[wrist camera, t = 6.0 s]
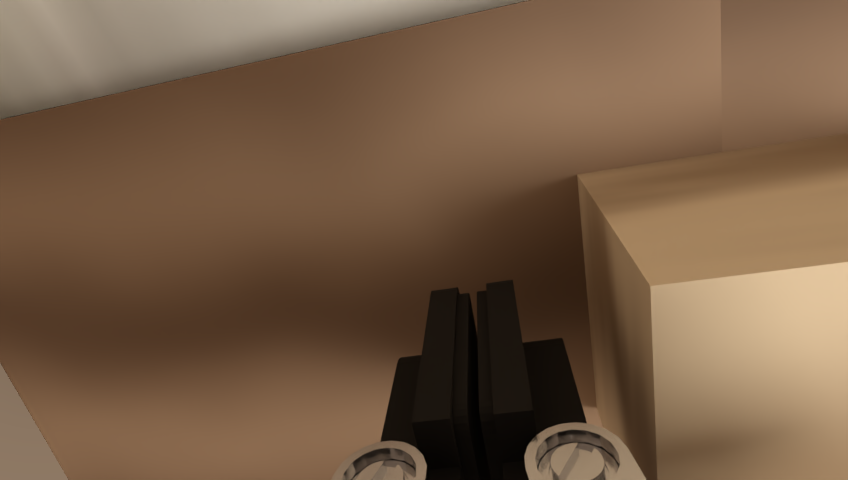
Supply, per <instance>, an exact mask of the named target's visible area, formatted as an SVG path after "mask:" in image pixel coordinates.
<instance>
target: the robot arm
mask: <svg viewBox="0 0 848 480" xmlns="http://www.w3.org/2000/svg"><path fill="white" fill-rule="evenodd" d="M331 480H646V478H645V476H644V475H643V473H642V471H641V469H640V468H639V466H638V464H637V463H636V461H635V459H634V458H633V456H632V454H631V453H630V451H629V449H628V448H627V446H626V445H625V444H624V443H623V442H622V440H621V439H620V438H619V437H618V436H616V435H615V434H613V433H612V432H610V431H608V430H607V429H604V428H602V427H599V426H596V425H593V424H587V421H586V418H585V414H584V411H583V407H582V404H581V400H580V397H579V393H578V390H577V386H576V383H575V379H574V376H573V372H572V369H571V365H570V362H569V358H568V355H567V351H566V348H565V344H564V341H563V339H562V338H556V339H547V340H539V341H531V342H522V335H521V329H520V323H519V316H518V310H517V304H516V298H515V291H514V285H513V280H506V281H499V282H492V283H486V290H485V291H478V292H477V331H476V325H475V320H474V315H473V309H472V304H471V299H470V295H469V293H463V294H460V293H459V289H458V287H456V288H449V289H441V290H434V291H431V294H430V301H429V308H428V315H427V321H426V328H425V335H424V342H423V348H422V355H416V356H408V357H401V358H399V359H398V362H397V366H396V371H395V376H394V380H393V385H392V389H391V394H390V399H389V403H388V408H387V413H386V417H385V422H384V427H383V431H382V436H381V441H380V442H377V443H374V444H371V445H368V446H365V447H363V448H361V449H359V450H358V451H356V452H354V453H352V454H351V455H350V456H349V457H348V458H347V459H346V460H344V461H343V462H342V463H341V464H340V466H339V467H338V469H337V470H336V472H335V473H334V475H333V477H332V479H331Z"/></svg>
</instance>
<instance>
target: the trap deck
mask: <svg viewBox="0 0 848 480" xmlns="http://www.w3.org/2000/svg"><path fill="white" fill-rule="evenodd" d="M846 133H848V0H529V1H524V2H520V3H516V4H511V5H507V6H502V7H498V8H493V9H489V10H484V11H480V12H476V13H471V14H467V15H462V16H458V17H453V18H449V19H445V20H440V21H436V22H431V23H427V24H422V25H418V26H413V27H409V28H405V29H400V30H396V31H391V32H387V33H382V34H378V35H374V36H369V37H365V38H360V39H356V40H351V41H347V42H342V43H338V44H334V45H329V46H325V47H320V48H316V49H311V50H307V51H303V52H298V53H294V54H289V55H285V56H280V57H276V58H272V59H267V60H263V61H258V62H254V63H249V64H245V65H240V66H236V67H232V68H227V69H223V70H218V71H214V72H209V73H205V74H201V75H196V76H192V77H187V78H183V79H178V80H174V81H169V82H165V83H161V84H156V85H152V86H147V87H143V88H138V89H134V90H130V91H125V92H121V93H116V94H112V95H107V96H103V97H98V98H94V99H90V100H85V101H81V102H76V103H72V104H67V105H63V106H59V107H54V108H50V109H45V110H41V111H36V112H32V113H28V114H23V115H19V116H14V117H10V118H5V119H1V120H0V363H1V365H2V366H3V368H4V370H5V372H6V373H7V375H8V377H9V378H10V380H11V382H12V383H13V385H14V387H15V389H16V390H17V392H18V394H19V396H20V397H21V399H22V400H23V402H24V404H25V406H26V407H27V409H28V411H29V413H30V414H31V416H32V418H33V420H34V421H35V423H36V425H37V426H38V428H39V430H40V431H41V433H42V435H43V437H44V438H45V440H46V442H47V443H48V445H49V447H50V449H51V450H52V452H53V454H54V455H55V457H56V459H57V461H58V462H59V464H60V466H61V467H62V469H63V470H64V473H65V474H66V476H67V478H68V480H331V479H332V477H333V475H334V473H335V472H336V470H337V469H338V467H339V466H340V464H341V463H342V462H343V461H344V460H346V459H347V458H348V457H349V456H350V455H351V454H352V453H354V452H356V451H358V450H359V449H361V448H363V447H365V446H368V445H371V444H374V443H377V442H380V441H381V436H382V431H383V427H384V422H385V417H386V413H387V408H388V403H389V399H390V394H391V389H392V385H393V380H394V376H395V371H396V366H397V362H398V359H399V358H401V357H408V356H416V355H422V348H423V342H424V335H425V328H426V321H427V315H428V308H429V301H430V294H431V291H434V290H441V289H449V288H456V287H458V289H459V293H460V294H463V293H469V295H470V299H471V304H472V309H473V315H474V320H475V325H476V331H477V292H478V291H485V290H486V283H492V282H499V281H506V280H513V285H514V291H515V298H516V304H517V310H518V316H519V323H520V329H521V335H522V342H531V341H539V340H547V339H556V338H562V339H563V341H564V344H565V348H566V351H567V355H568V358H569V362H570V365H571V369H572V372H573V376H574V379H575V383H576V386H577V390H578V393H579V397H580V400H581V404H582V407H583V411H584V414H585V418H586V421H587V424H593V425H596V426H599V427H602V428H603V426H602V423H601V420H600V417H599V414H598V410H597V405H596V393H595V381H594V369H593V357H592V345H591V333H590V322H589V310H588V298H587V286H586V274H585V262H584V250H583V238H582V227H581V215H580V203H579V191H578V179H577V175H578V174H584V173H591V172H597V171H604V170H610V169H617V168H623V167H630V166H636V165H643V164H649V163H656V162H663V161H669V160H676V159H682V158H689V157H695V156H702V155H708V154H715V153H722V152H728V151H735V150H741V149H748V148H754V147H761V146H767V145H774V144H781V143H787V142H794V141H800V140H807V139H813V138H820V137H826V136H833V135H840V134H846Z"/></svg>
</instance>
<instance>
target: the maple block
mask: <svg viewBox="0 0 848 480" xmlns="http://www.w3.org/2000/svg"><path fill="white" fill-rule="evenodd" d="M577 179H578V191H579V203H580V215H581V227H582V238H583V250H584V262H585V274H586V286H587V298H588V310H589V322H590V333H591V345H592V357H593V369H594V381H595V393H596V405H597V410H598V414H599V417H600V420H601V423H602V426H603V428H604V429H607V430H608V431H610V432H612V433H613V434H615V435H616V436H618V437H619V438H620V439H621V440H622V442H623V443H624V444H625V445H626V446H627V448H628V449H629V451H630V453H631V454H632V456H633V458H634V459H635V461H636V463H637V464H638V466H639V468H640V469H641V471H642V473H643V475H644V476H645V478H646V480H848V133H846V134H840V135H833V136H826V137H820V138H813V139H807V140H800V141H794V142H787V143H781V144H774V145H767V146H761V147H754V148H748V149H741V150H735V151H728V152H722V153H715V154H708V155H702V156H695V157H689V158H682V159H676V160H669V161H663V162H656V163H649V164H643V165H636V166H630V167H623V168H617V169H610V170H604V171H597V172H591V173H584V174H578V175H577Z"/></svg>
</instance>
